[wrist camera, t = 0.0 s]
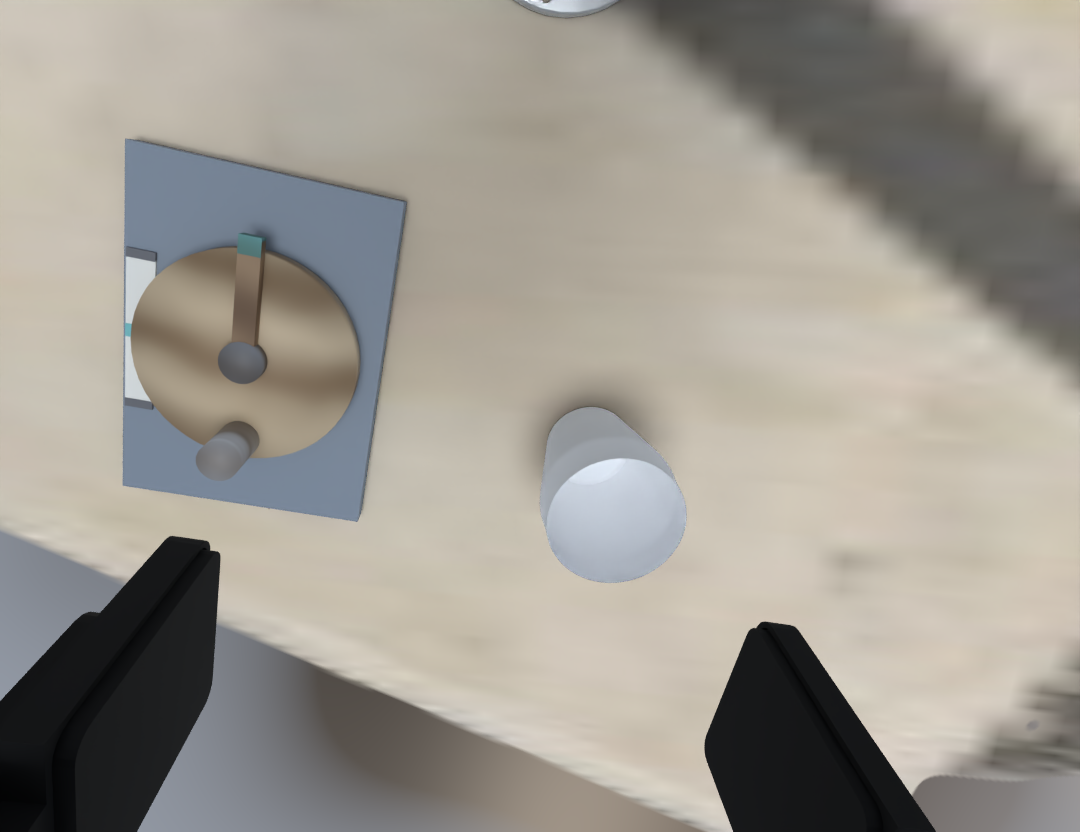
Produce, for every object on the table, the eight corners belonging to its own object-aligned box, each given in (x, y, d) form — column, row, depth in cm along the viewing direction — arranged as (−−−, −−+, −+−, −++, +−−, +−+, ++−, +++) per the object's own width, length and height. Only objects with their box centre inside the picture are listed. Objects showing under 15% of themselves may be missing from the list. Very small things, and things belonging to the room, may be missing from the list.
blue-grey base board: (137, 140, 40) (123, 138, 39) (406, 201, 43) (403, 202, 41) (133, 476, 48) (120, 487, 47) (361, 512, 51) (356, 523, 49)
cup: (509, 464, 50) (515, 546, 39) (572, 370, 48) (597, 428, 37) (603, 514, 52) (634, 606, 41) (667, 427, 50) (718, 499, 39)
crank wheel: (144, 207, 40) (93, 211, 35) (375, 257, 42) (359, 268, 37) (140, 430, 45) (95, 462, 40) (347, 465, 47) (330, 500, 42)
